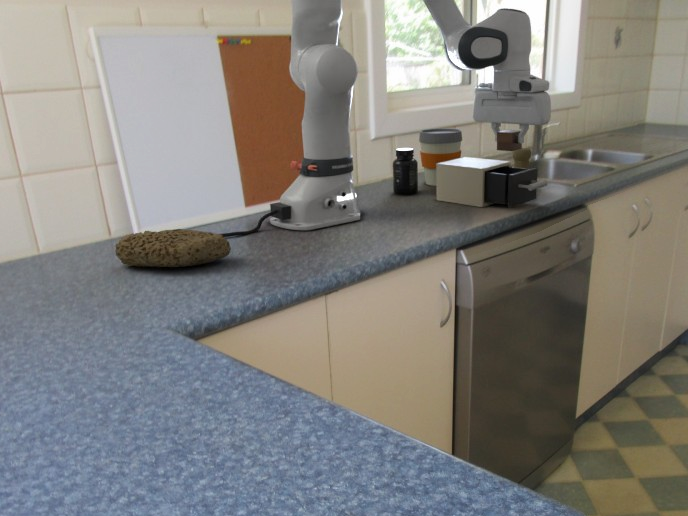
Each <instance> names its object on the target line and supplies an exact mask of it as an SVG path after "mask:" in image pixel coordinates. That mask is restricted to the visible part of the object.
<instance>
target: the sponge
mask: <svg viewBox="0 0 688 516" xmlns="http://www.w3.org/2000/svg"><path fill="white" fill-rule="evenodd" d="M221 234H222V233H215V232H211V231H203V230H202V231H201V230H195V229H183V228H176V229H164V230H160V231H152V230H144V232H142V231H140V232H136V233H131V234H126V235H125V236H123V237H121V238H120V239H119V240H118V242H117V243H115V245H114V246H115V250H114V253H115V256H116V257H117V259H119V260H120V262H121V264H122V265H127V266H134V267H144V268H145V267H153V268H154V267H158V268H167V267H168V268H184V267H192V266H193V267H194V266H197V265H198V266H199V265H205V264H208V263H212V262H215V261H218V260H220V259H223V258H226V257H227V256H229V255H230V253H231V250H232V248H231V243H230V241H229V240H228V239H227V238H226V237H224V236H222V235H221Z"/></svg>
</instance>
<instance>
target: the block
mask: <svg viewBox="0 0 688 516" xmlns="http://www.w3.org/2000/svg"><path fill="white" fill-rule="evenodd" d="M520 131H521V130H517V129H505V130H500V131H499V132H497V142H496V151H502V152H503V151H504V152H513V151H516V150H520V149H522V147H523V143H522V144H518V143H515V140H516V139H515V136H518V135H519V133H520Z"/></svg>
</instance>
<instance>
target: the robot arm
mask: <svg viewBox="0 0 688 516" xmlns="http://www.w3.org/2000/svg"><path fill="white" fill-rule="evenodd" d="M422 1H423V3H424V5H425V7H426V8H427V10H428V12H429V13H430V16H431V18H432V19H433V21H434V23H435V24H436V26H437V29H438V30H439V32H440V34H441V37H442V41H443V48H444V54H445V58H446V60H447V62H448V63H449V64H450V66H451V67H453V68H454V69H456V70H458V71H462V72H463V71H464V72H468V71H480V70H484V69H486V68H489V67H492V82H486V83H485V82H480V83H479V84H478V85H476V87H475V88H474V99H473V106H472V119H473V120H474V122H475V123H490V124H491V127H490V128H491V129H492V132H493V134H494V142H496V143H497V132H499V131H501V129H500V127H502V124H508V125H518V126H519V127H518V129H519V131H520V133H519V135H518V136H515V139H516V140H515V143H518V144H522V145H523V144H524V143H525V136H526V134H527V133H528V131H529V129H530V126H545V125H548V124H549V122H550V121H551V118H552V102H551V96H550V94H549V92H547V91H549V90H550V82H549V81H548V80H547V79H543V78H540V77H538V76H536V75H533V74H531V63H530V57H531V56H530V55H531V52H532V25H531V18H530V16H529V14H527V12H525V11H523V10H520V9H516V8H515V9H514V8H506V7H504V8H499V9H497V10H496V11H495V12H494V13H493V14H492V15H490V16H489V17H487V18H485V19H483V20H482V21H479V22H477V23H475V24H473V25H471V24H469V22H468V21H466V19H465V18H464V16H463V13H462V12H461V10H460V8H459V5H458V4H457V2H456V1H455V0H422ZM290 4H291V37H290V60H289V65H288V66H289V68H288V69H289V70H288V71H289V75H290V78H291V80H292V81H293V83H294V84H295V85H296V86H297V88H299V90H301V91H303V93H304V94H305V98H304V111H303V117H302V119H301V133H302V136H301V137H302V146H303V147H302V148H303V157H302V159H301V161H296V160H292V161H291V162H290V164H289V166H290V169H291V170H292V171H293V170H294V171H299V175H298V176H297V178H296V179H294V181H293V182H292V183H291V184H290V185H289V187H288V188H287V189H285V191H284V192H283V193H282V194H281V196H280V198H279V202H272V203H269V207H270V209H269V210H270V212H267V213H266V214H264V215H263V216H261V218H260V219H259V220H258V222H257V224H256V226H255V227H254V228H252V229H251V230H243V231H242V230H241V231H232V232H226V233H225V232H223V233H220V234H221V235H222V236H224V238H228V237H237V236H246V235H251V234H254V233H257V232H258V231H259V230H260V228H261V227H262V224H263V222H264V221H265V220H266V219H268V218H269V217H270V218H269V223H270V224H271V225H272V226H275V227H277V228H281V229H286V230H293V231H312V230H316V229H317V230H318V229H322V228H326V227H332V226H336V225H342V224H346V223H351V222H355V221H360V220H361V213H362V212H361V210H360V207H359V203H358V199H357V192H356V187H355V183H354V177H353V171H354V170H355V169H354V158H353V157H354V156H353V155H352V154H351V153H352V151H351V133H350V131H351V130H350V119H351V118H350V117H351V109H352V100H353V93H354V86H355V84H356V82H357V79H358V72H359V70H358V63H357V61H356V59H355V57H354V56H353V55H352V54H351V53H350V52H349V51H348V50H347V49H345V48H344V47H342V46H340V45H338V42H339V33H340V27H341V26H340V25H341V21H342V18H343V13H344V11H343V0H290Z"/></svg>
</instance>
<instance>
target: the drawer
mask: <svg viewBox="0 0 688 516" xmlns="http://www.w3.org/2000/svg"><path fill="white" fill-rule="evenodd" d="M538 171H539V170H538V167H532V168H530V169H528V170H527V169H526V168H517V167H513V166H511V167H507V166H503V167H500V168H496V169H492V170H488V171H484V172H485V177H484V201H485V202H492V203H494V204H498V205H507V208H515V207H517V206H520V205H524V204H526V203H529V202H532V201H535V200H537V193H538V191H537V190H538V189H541V188H545V187H547V186H548V183H549V182H548V181H547V180H546V179H543V180H538Z"/></svg>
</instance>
